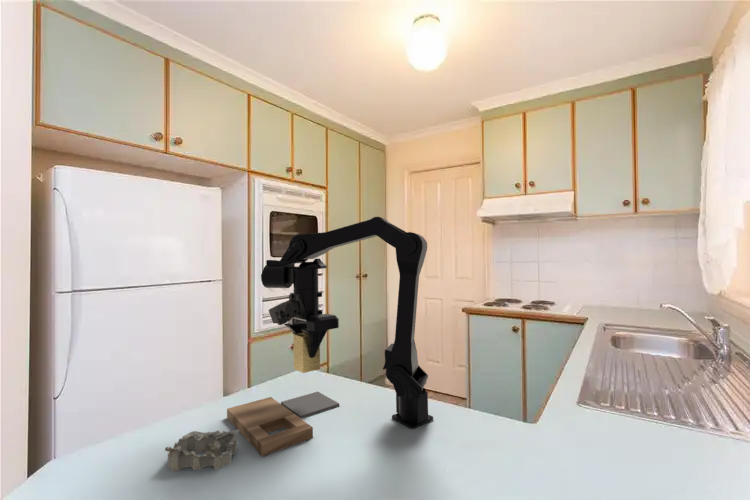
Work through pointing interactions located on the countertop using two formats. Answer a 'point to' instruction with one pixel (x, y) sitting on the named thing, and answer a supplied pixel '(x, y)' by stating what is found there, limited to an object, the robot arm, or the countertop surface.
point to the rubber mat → (309, 404)
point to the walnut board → (269, 425)
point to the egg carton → (200, 443)
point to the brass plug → (304, 355)
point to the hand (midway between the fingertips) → (306, 355)
